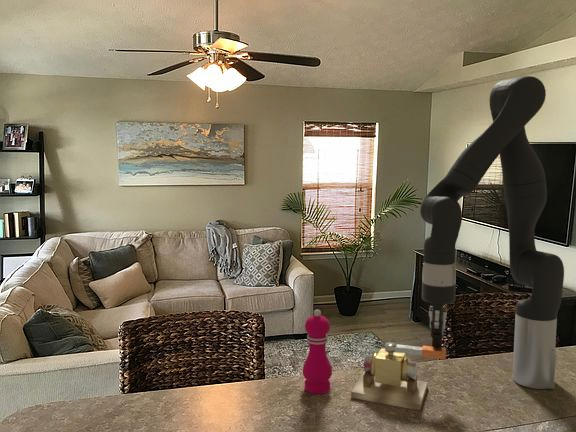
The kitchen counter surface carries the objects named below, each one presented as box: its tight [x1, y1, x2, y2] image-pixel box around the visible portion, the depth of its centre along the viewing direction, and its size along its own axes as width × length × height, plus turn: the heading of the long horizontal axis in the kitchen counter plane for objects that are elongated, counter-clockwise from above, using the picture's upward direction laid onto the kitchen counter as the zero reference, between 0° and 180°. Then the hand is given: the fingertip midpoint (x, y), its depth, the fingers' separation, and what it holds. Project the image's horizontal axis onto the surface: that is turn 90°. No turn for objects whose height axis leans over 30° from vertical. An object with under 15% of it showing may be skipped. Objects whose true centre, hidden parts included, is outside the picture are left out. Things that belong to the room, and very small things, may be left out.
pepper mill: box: [302, 309, 333, 395], centre depth 122 cm, size 7×7×20 cm
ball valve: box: [363, 347, 418, 386], centre depth 120 cm, size 12×6×7 cm, turn 67°
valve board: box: [350, 371, 428, 411], centre depth 120 cm, size 16×12×4 cm
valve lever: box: [384, 342, 447, 360], centre depth 117 cm, size 3×14×2 cm, turn 71°
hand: (436, 351), depth 119 cm, fingers closed
